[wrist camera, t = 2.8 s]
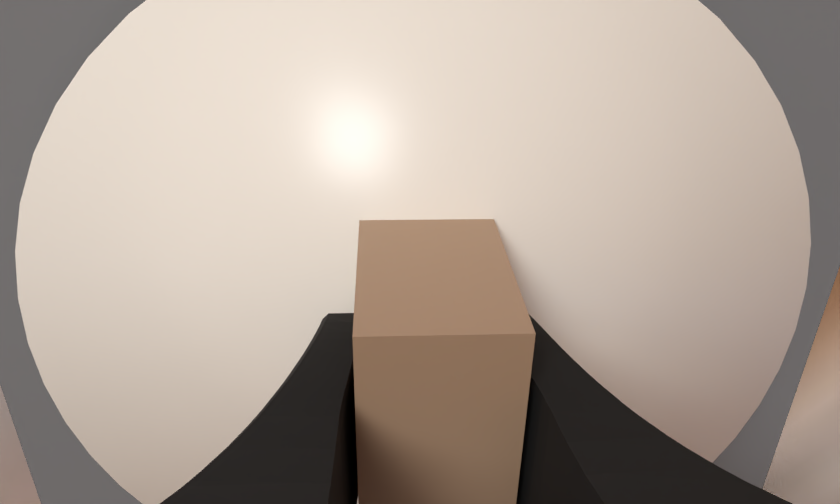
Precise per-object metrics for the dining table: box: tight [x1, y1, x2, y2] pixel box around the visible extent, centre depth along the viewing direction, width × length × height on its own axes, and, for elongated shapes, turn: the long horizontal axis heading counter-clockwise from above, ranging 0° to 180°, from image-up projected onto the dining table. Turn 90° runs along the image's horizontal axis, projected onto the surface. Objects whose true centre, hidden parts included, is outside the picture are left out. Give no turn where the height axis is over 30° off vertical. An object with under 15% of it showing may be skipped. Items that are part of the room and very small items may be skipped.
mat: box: [0, 0, 840, 504], centre depth 14 cm, size 18×18×1 cm
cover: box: [15, 0, 811, 504], centre depth 12 cm, size 15×15×4 cm
